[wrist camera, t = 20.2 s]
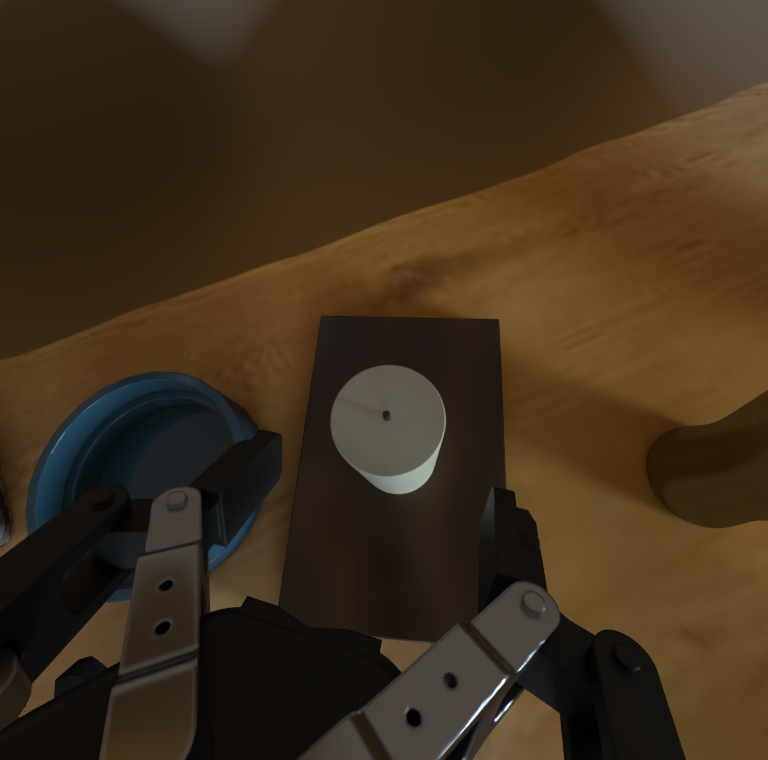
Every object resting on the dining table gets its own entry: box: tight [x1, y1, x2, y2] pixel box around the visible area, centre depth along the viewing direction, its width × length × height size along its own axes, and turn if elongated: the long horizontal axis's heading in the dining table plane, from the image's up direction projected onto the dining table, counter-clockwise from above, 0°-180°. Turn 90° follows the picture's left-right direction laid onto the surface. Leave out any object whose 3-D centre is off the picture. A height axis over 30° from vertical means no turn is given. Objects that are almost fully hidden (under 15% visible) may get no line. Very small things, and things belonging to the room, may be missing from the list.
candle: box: [330, 365, 446, 494], centre depth 19 cm, size 5×5×10 cm
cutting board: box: [278, 316, 506, 644], centre depth 25 cm, size 13×20×2 cm, turn 176°
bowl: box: [26, 372, 263, 603], centre depth 24 cm, size 13×13×4 cm
